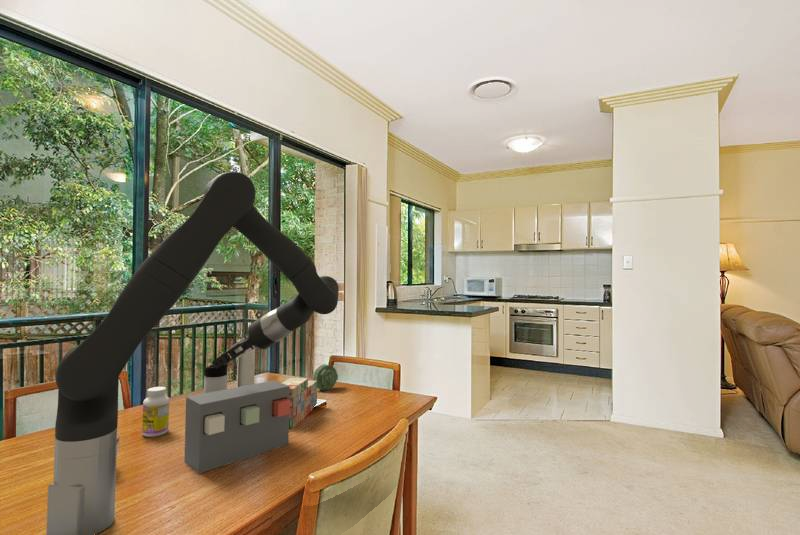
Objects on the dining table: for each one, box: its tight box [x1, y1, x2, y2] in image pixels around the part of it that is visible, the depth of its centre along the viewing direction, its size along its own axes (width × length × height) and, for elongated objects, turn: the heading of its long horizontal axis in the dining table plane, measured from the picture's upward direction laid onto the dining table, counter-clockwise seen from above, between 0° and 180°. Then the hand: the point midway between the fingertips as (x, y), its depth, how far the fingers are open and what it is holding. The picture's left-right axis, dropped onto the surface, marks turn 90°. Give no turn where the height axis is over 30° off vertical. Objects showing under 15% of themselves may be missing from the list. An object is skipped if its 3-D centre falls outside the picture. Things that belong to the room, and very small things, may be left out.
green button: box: [240, 405, 260, 425], centre depth 107 cm, size 4×3×4 cm
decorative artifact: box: [312, 363, 339, 392], centre depth 171 cm, size 10×7×10 cm
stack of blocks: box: [281, 377, 318, 429], centre depth 140 cm, size 21×6×12 cm, turn 171°
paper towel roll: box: [236, 339, 256, 387], centre depth 162 cm, size 7×6×21 cm
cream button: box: [204, 413, 225, 435], centre depth 101 cm, size 4×3×4 cm
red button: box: [273, 398, 290, 417], centre depth 114 cm, size 4×3×4 cm
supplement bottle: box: [141, 386, 170, 438], centre depth 123 cm, size 7×7×13 cm
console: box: [183, 380, 290, 474], centre depth 111 cm, size 24×8×16 cm, turn 137°
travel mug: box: [203, 363, 229, 394], centre depth 125 cm, size 6×7×20 cm
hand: (223, 359), depth 111 cm, fingers open, 8 cm apart
